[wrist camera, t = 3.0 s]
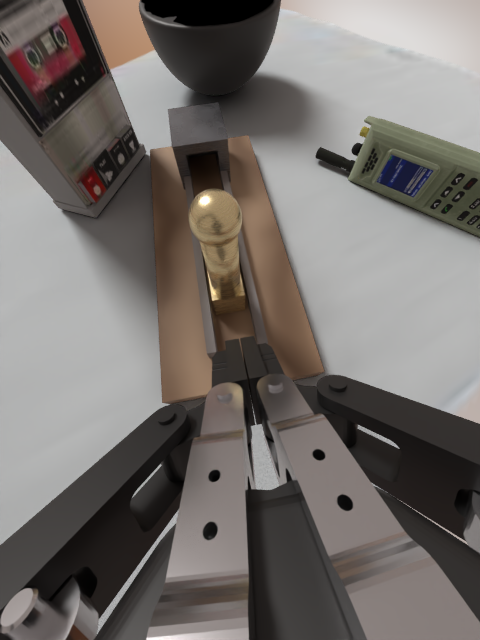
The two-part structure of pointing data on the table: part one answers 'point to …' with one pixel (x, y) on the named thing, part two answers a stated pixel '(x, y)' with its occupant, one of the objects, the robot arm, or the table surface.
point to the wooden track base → (193, 282)
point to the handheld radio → (416, 172)
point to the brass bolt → (219, 246)
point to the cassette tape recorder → (63, 104)
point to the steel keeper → (198, 136)
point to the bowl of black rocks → (211, 39)
